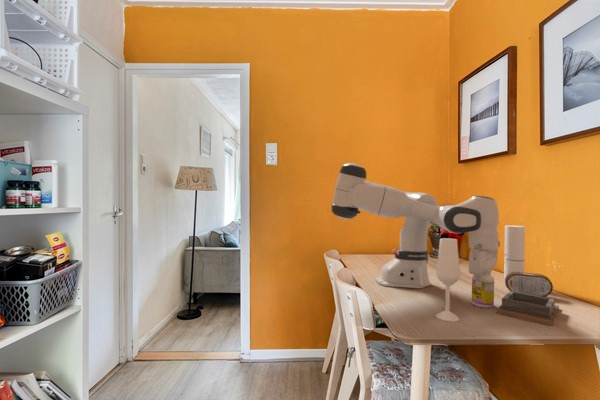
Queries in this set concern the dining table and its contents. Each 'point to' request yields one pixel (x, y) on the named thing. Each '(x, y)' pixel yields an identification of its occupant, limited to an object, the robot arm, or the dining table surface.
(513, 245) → the cylindrical container
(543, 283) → the tin
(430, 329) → the dining table surface
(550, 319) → the holder
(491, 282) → the supplement bottle
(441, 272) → the champagne flute
